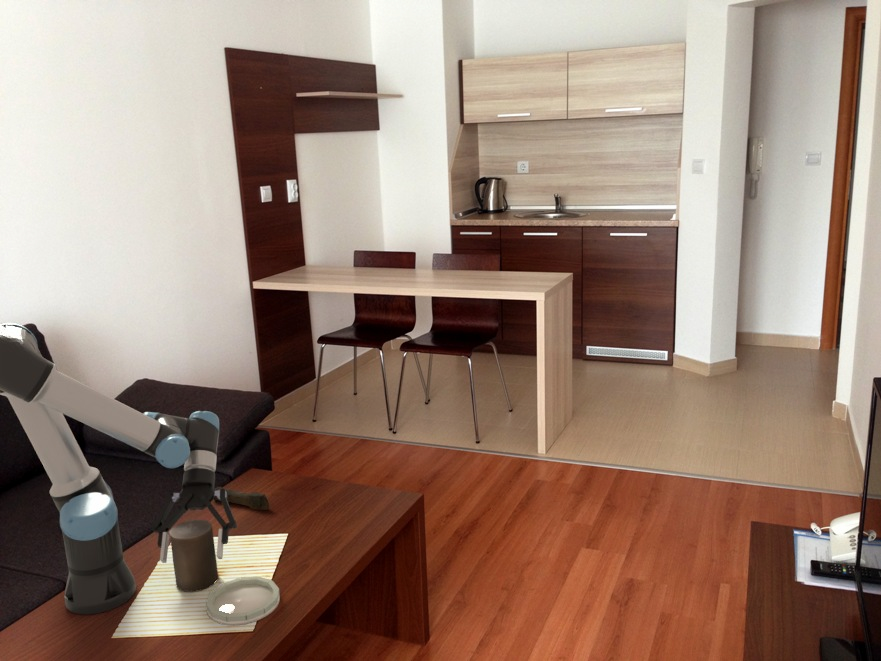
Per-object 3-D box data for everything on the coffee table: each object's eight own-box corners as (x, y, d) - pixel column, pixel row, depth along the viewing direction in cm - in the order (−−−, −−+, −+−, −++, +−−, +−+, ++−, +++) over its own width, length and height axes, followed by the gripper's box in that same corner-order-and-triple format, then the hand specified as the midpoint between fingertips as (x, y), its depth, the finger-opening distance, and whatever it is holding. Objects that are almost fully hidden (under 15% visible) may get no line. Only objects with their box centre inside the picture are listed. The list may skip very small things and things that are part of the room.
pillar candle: (220, 586, 184) (214, 528, 181) (176, 596, 181) (169, 536, 177) (215, 566, 193) (209, 510, 190) (174, 575, 190) (167, 518, 186)
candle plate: (199, 627, 169) (198, 619, 168) (215, 586, 184) (214, 578, 184) (274, 622, 170) (273, 614, 169) (284, 581, 185) (283, 574, 185)
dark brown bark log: (211, 502, 228) (210, 487, 227) (221, 496, 231) (220, 482, 230) (262, 515, 219) (261, 500, 218) (271, 509, 223) (270, 494, 221)
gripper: (252, 474, 198) (247, 560, 187) (153, 480, 196) (142, 567, 185) (246, 463, 191) (241, 551, 180) (144, 469, 190) (132, 558, 179)
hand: (191, 559), depth 183 cm, fingers open, 12 cm apart
